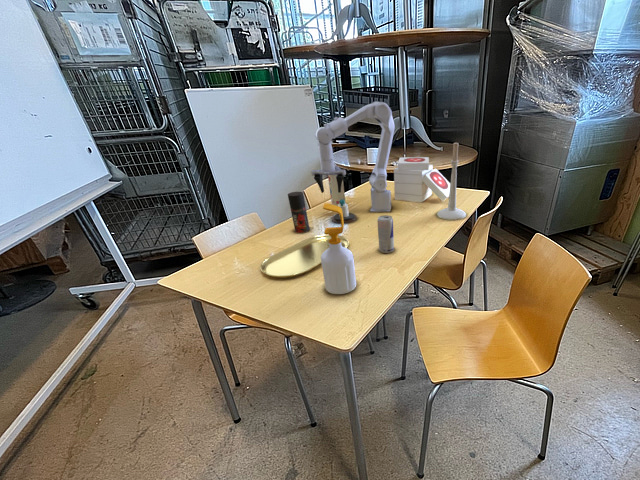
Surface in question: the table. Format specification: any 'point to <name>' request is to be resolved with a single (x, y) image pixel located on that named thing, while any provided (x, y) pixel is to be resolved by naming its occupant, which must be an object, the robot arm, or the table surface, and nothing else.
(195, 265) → the table surface
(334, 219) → the turntable base
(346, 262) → the soap bottle
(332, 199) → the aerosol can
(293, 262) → the serving platter
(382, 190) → the robot arm
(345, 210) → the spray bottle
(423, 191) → the pizza boxes
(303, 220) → the deodorant
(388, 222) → the energy drink
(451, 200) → the candlestick
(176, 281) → the table surface
